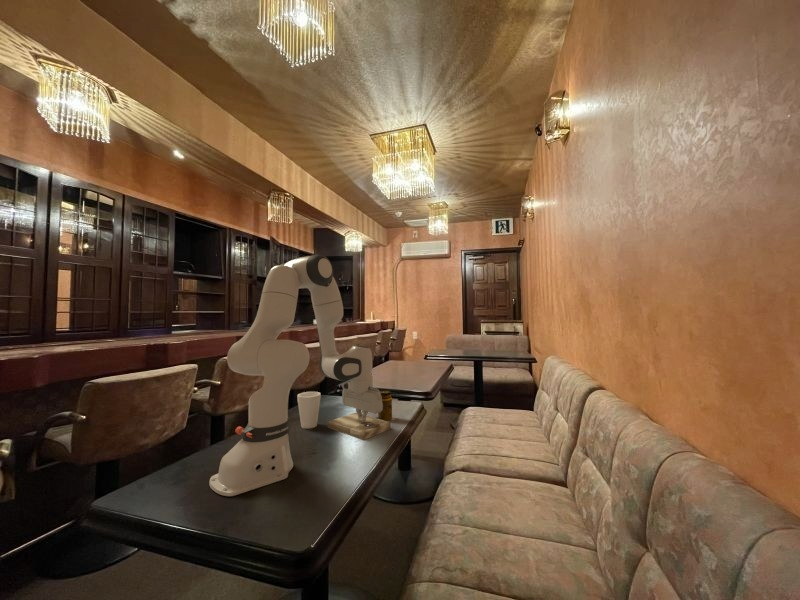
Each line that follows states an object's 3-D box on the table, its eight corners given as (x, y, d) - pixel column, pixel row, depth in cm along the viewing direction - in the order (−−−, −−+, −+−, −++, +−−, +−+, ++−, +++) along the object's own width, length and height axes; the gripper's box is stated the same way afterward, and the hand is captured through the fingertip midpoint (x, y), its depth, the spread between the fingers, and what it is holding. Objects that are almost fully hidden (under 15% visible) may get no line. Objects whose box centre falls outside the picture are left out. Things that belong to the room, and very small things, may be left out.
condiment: (396, 419, 144) (395, 391, 144) (381, 424, 138) (381, 395, 138) (385, 415, 149) (384, 389, 149) (370, 420, 143) (370, 392, 144)
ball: (364, 432, 129) (370, 432, 127) (363, 424, 129) (368, 424, 127) (371, 431, 131) (376, 430, 129) (369, 422, 132) (374, 422, 130)
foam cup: (293, 425, 137) (293, 394, 137) (313, 420, 143) (313, 390, 144) (303, 431, 130) (303, 398, 130) (324, 426, 136) (324, 394, 137)
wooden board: (363, 440, 121) (363, 433, 121) (327, 427, 134) (327, 421, 134) (390, 428, 132) (390, 422, 132) (355, 418, 146) (355, 412, 146)
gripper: (386, 387, 128) (386, 423, 128) (350, 381, 141) (351, 413, 141) (374, 390, 123) (375, 427, 123) (339, 383, 137) (339, 417, 136)
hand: (362, 420), depth 132 cm, fingers closed
